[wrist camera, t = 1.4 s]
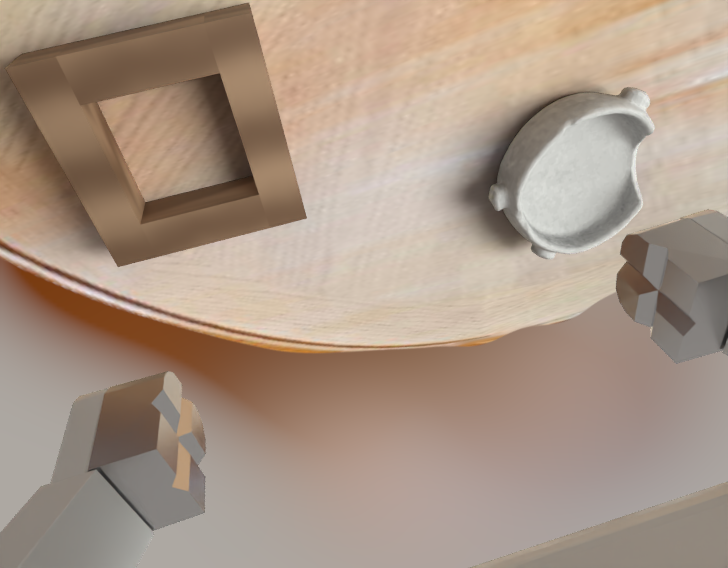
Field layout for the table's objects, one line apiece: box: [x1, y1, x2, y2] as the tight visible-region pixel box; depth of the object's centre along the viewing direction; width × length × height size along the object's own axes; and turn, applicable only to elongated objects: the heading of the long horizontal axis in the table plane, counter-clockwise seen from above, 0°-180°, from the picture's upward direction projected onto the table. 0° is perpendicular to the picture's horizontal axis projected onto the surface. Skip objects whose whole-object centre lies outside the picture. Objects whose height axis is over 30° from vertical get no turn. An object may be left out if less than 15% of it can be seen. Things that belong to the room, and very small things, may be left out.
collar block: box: [5, 3, 307, 267], centre depth 38 cm, size 15×15×4 cm
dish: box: [488, 87, 655, 259], centre depth 47 cm, size 14×14×5 cm
